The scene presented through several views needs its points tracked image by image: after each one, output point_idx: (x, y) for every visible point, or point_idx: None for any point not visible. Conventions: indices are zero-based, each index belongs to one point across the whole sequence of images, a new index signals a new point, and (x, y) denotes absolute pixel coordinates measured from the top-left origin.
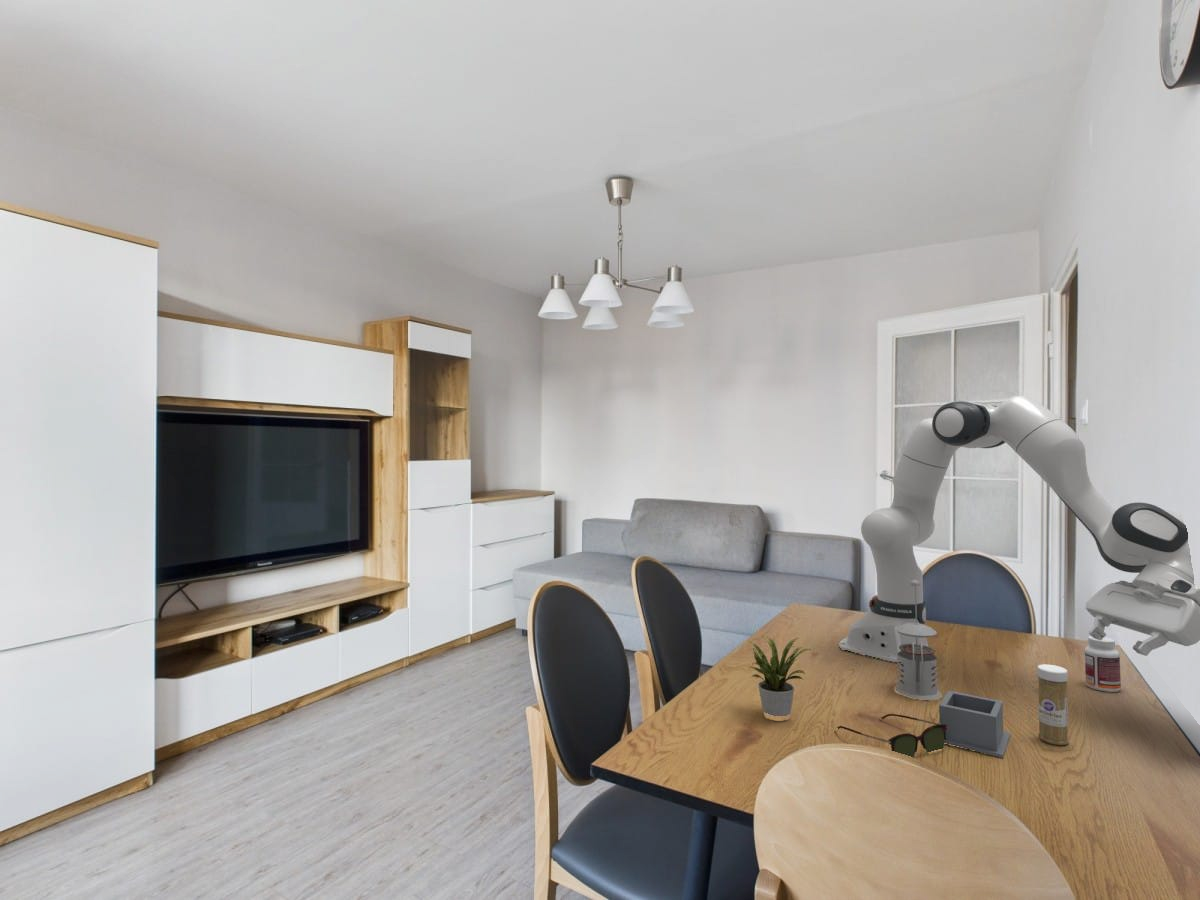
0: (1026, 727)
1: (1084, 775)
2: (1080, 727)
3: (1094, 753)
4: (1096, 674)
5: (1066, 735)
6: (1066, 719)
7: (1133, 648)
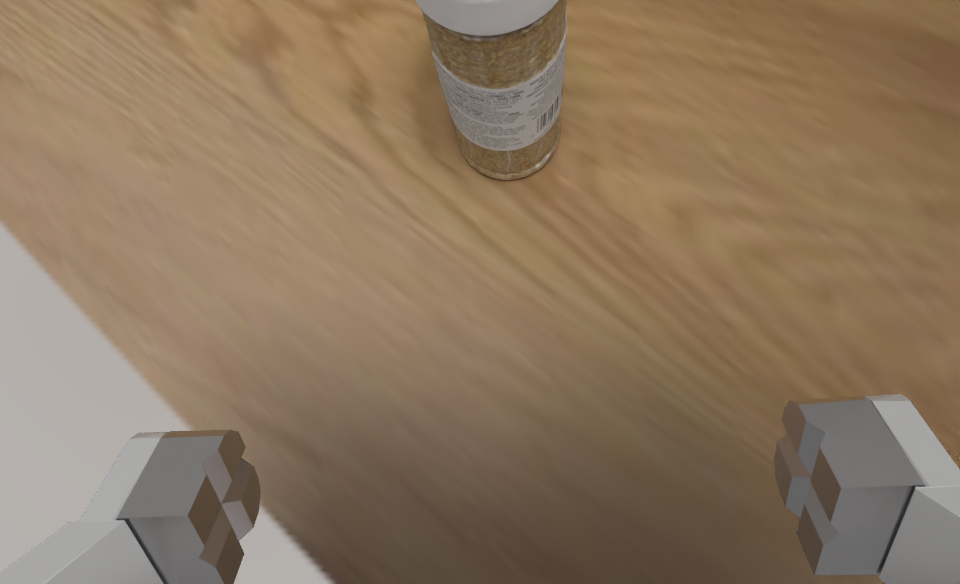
0: (642, 105)
1: (238, 62)
2: (642, 341)
3: (392, 215)
4: None
5: (462, 142)
6: (452, 112)
7: (231, 433)
